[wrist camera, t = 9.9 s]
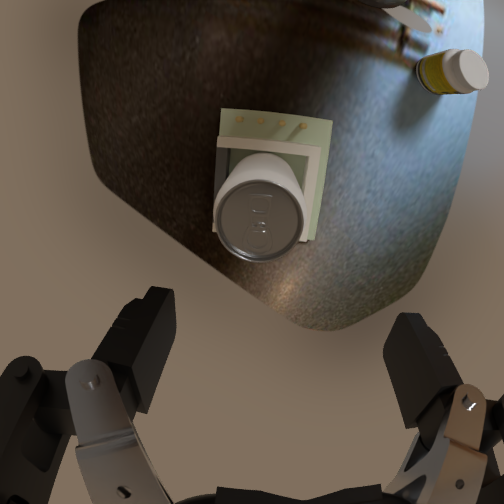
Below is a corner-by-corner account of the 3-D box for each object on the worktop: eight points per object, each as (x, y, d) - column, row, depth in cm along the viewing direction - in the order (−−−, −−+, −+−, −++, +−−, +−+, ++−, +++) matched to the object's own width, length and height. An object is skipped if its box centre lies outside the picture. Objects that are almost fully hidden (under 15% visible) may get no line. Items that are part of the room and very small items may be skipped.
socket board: (223, 108, 27) (216, 107, 24) (330, 120, 27) (338, 121, 24) (215, 225, 33) (209, 238, 29) (312, 236, 32) (317, 249, 29)
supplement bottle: (429, 101, 24) (472, 101, 17) (407, 65, 23) (447, 54, 15) (454, 85, 23) (498, 84, 15) (434, 51, 21) (475, 39, 14)
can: (230, 210, 30) (208, 265, 20) (232, 149, 28) (208, 170, 17) (291, 215, 30) (303, 272, 20) (297, 154, 27) (316, 177, 17)
